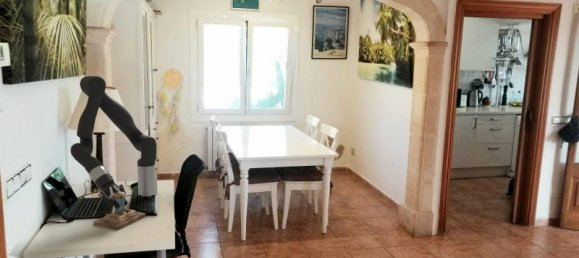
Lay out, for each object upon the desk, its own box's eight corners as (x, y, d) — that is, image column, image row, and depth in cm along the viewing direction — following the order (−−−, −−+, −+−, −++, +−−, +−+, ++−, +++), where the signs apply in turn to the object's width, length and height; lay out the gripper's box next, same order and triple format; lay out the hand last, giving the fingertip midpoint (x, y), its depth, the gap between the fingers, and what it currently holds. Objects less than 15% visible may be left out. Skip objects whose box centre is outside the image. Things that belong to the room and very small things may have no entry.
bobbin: (119, 211, 213) (118, 191, 211) (128, 213, 211) (127, 193, 209) (111, 215, 208) (110, 194, 206) (120, 217, 206) (119, 196, 204)
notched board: (122, 211, 221) (122, 203, 220) (145, 216, 215) (145, 208, 215) (93, 224, 204) (93, 216, 204) (117, 230, 199) (117, 221, 198)
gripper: (93, 176, 202) (115, 206, 200) (116, 169, 215) (137, 197, 213) (85, 186, 205) (106, 216, 203) (108, 178, 218) (129, 206, 216)
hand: (122, 206), depth 208 cm, fingers closed on bobbin, 4 cm apart
